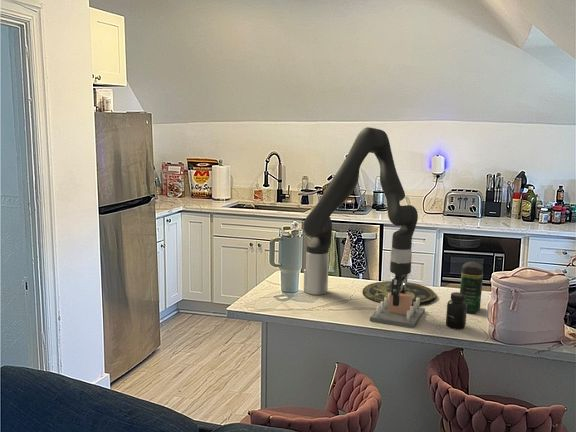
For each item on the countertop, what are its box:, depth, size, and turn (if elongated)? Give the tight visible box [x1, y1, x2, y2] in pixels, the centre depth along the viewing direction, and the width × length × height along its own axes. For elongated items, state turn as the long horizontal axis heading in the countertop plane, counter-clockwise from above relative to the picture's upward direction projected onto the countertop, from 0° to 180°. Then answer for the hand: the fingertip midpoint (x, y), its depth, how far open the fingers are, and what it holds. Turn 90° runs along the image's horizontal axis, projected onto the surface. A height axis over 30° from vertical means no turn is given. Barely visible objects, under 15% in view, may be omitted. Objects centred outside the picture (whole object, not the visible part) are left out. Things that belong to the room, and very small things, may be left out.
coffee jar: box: [459, 261, 484, 314], centre depth 229 cm, size 10×8×19 cm
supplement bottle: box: [445, 291, 467, 330], centre depth 212 cm, size 7×7×12 cm
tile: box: [389, 293, 413, 315], centre depth 221 cm, size 8×2×7 cm, turn 66°
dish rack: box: [369, 294, 426, 329], centre depth 222 cm, size 16×19×6 cm
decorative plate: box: [362, 280, 437, 307], centre depth 248 cm, size 30×2×30 cm
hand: (398, 302), depth 221 cm, fingers open, 8 cm apart
